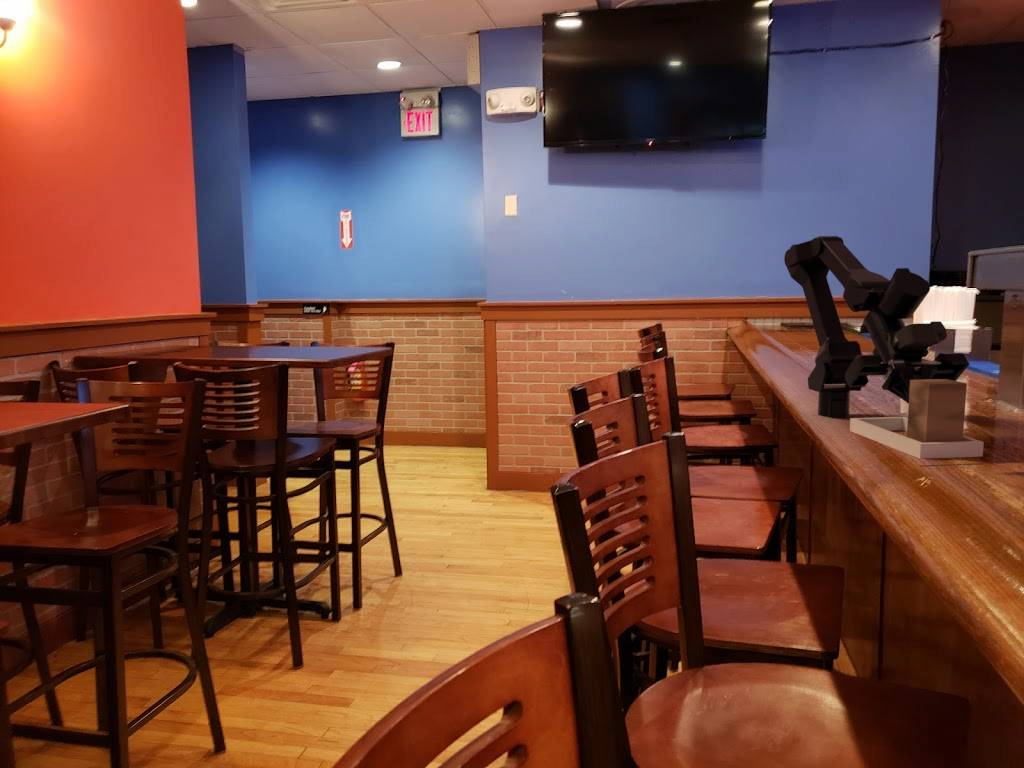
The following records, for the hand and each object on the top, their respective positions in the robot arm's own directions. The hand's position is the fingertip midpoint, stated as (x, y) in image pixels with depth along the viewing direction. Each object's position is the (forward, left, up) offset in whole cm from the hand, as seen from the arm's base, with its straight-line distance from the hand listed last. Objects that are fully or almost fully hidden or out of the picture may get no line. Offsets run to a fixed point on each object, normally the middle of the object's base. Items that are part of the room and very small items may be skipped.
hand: (925, 411), depth 125 cm
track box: (-3, -1, -7) cm, 8 cm away
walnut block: (+3, 0, -6) cm, 6 cm away
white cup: (-35, +13, -7) cm, 38 cm away
